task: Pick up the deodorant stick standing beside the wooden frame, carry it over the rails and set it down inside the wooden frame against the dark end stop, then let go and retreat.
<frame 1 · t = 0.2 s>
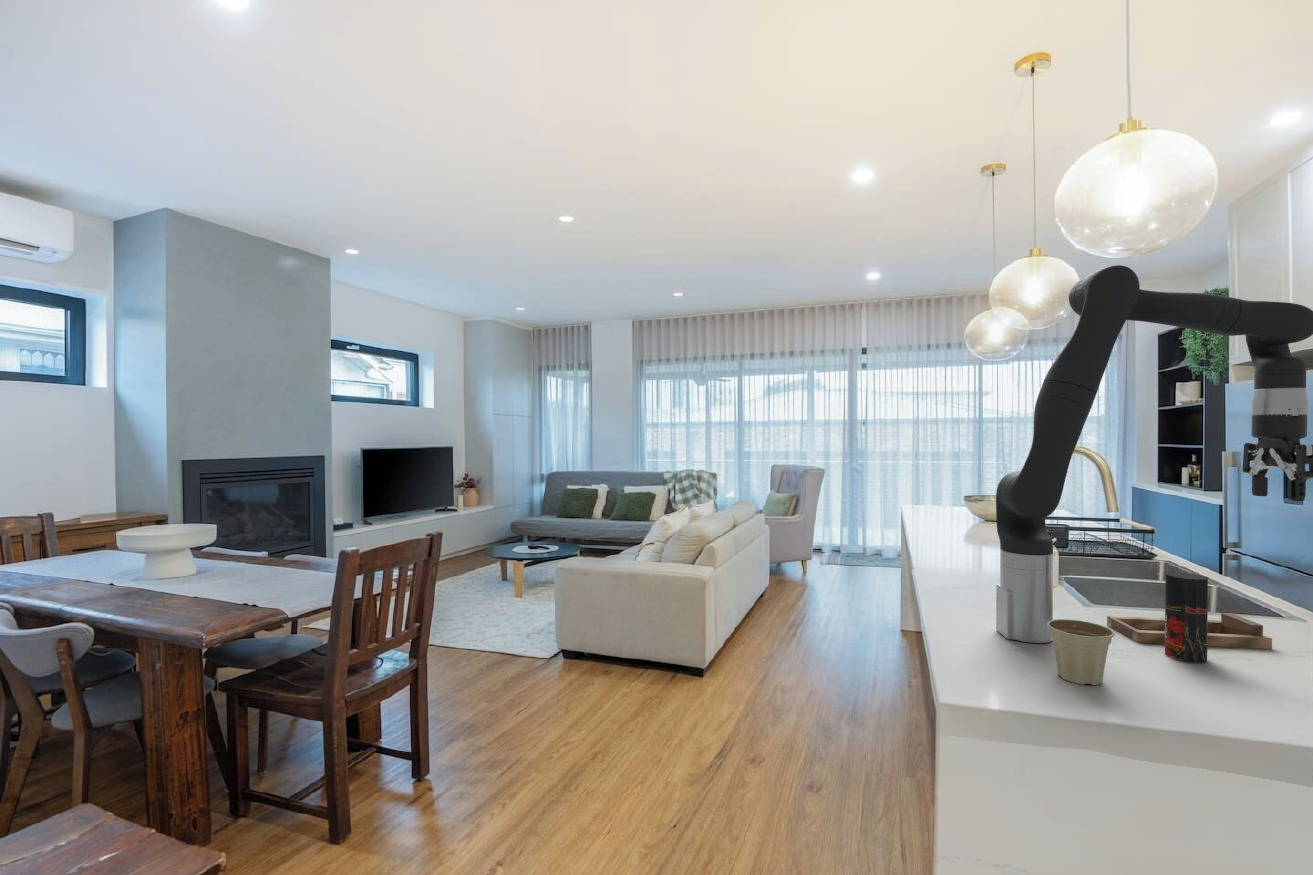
hand: (1277, 498, 120), 29 cm above the countertop, fingers open, 8 cm apart
wooden frame: (1184, 636, 127), on the countertop
flower pot: (1079, 679, 106), on the countertop
deodorant: (1185, 658, 115), on the countertop
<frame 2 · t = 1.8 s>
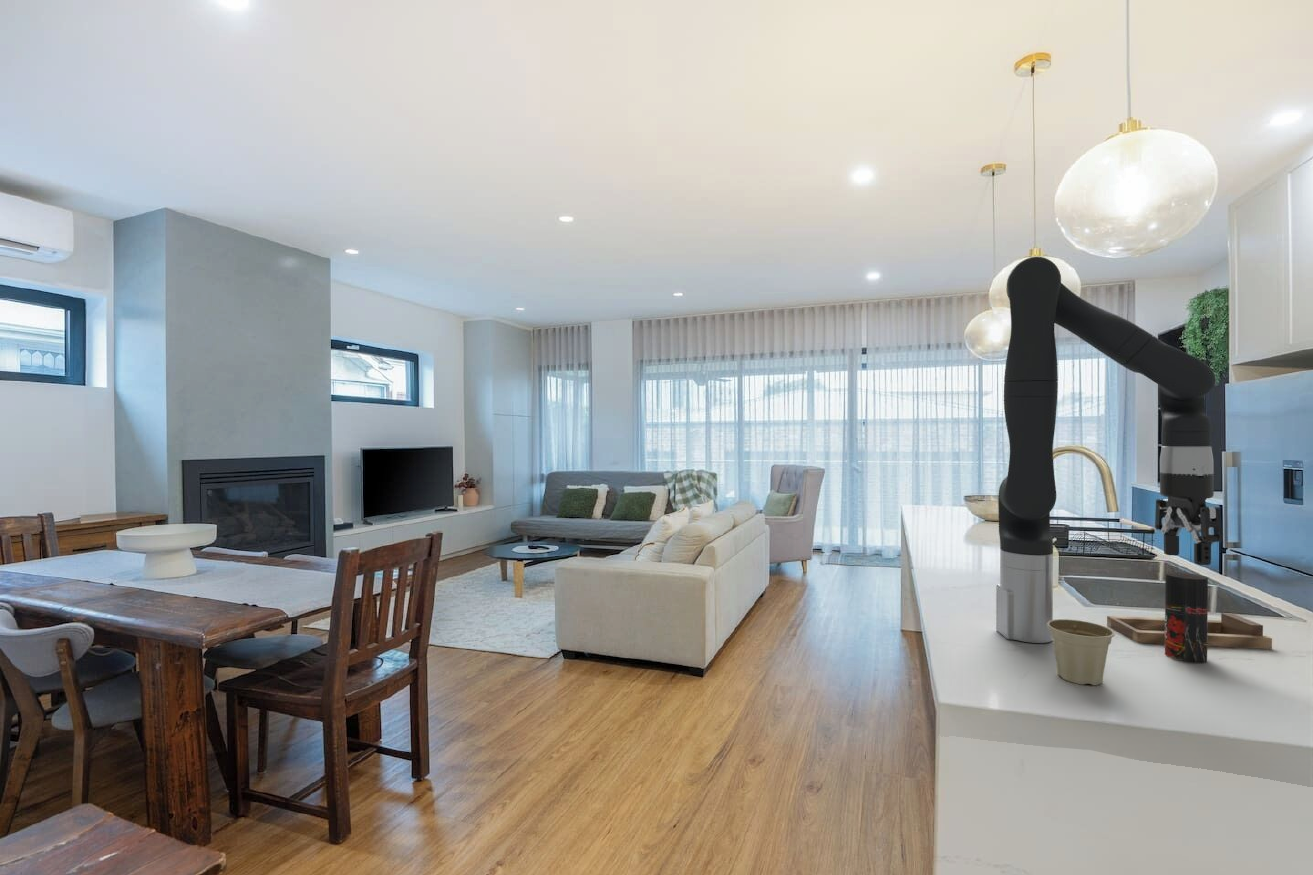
hand: (1186, 559, 115), 18 cm above the countertop, fingers open, 8 cm apart
nothing on the countertop moved.
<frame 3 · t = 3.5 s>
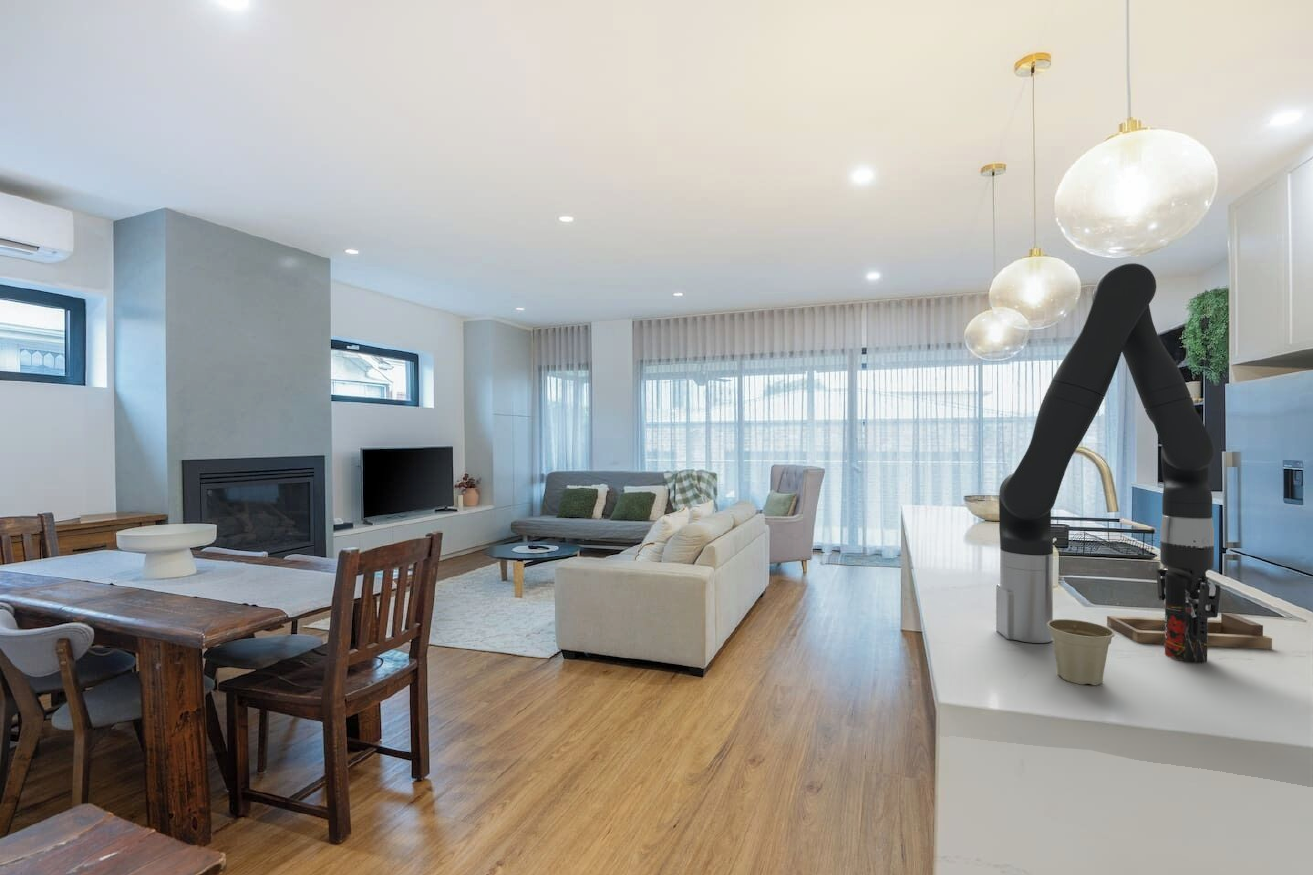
hand: (1186, 632, 115), 5 cm above the countertop, fingers closed on deodorant, 6 cm apart
deodorant: (1185, 658, 115), on the countertop, touching gripper
everything else where it was.
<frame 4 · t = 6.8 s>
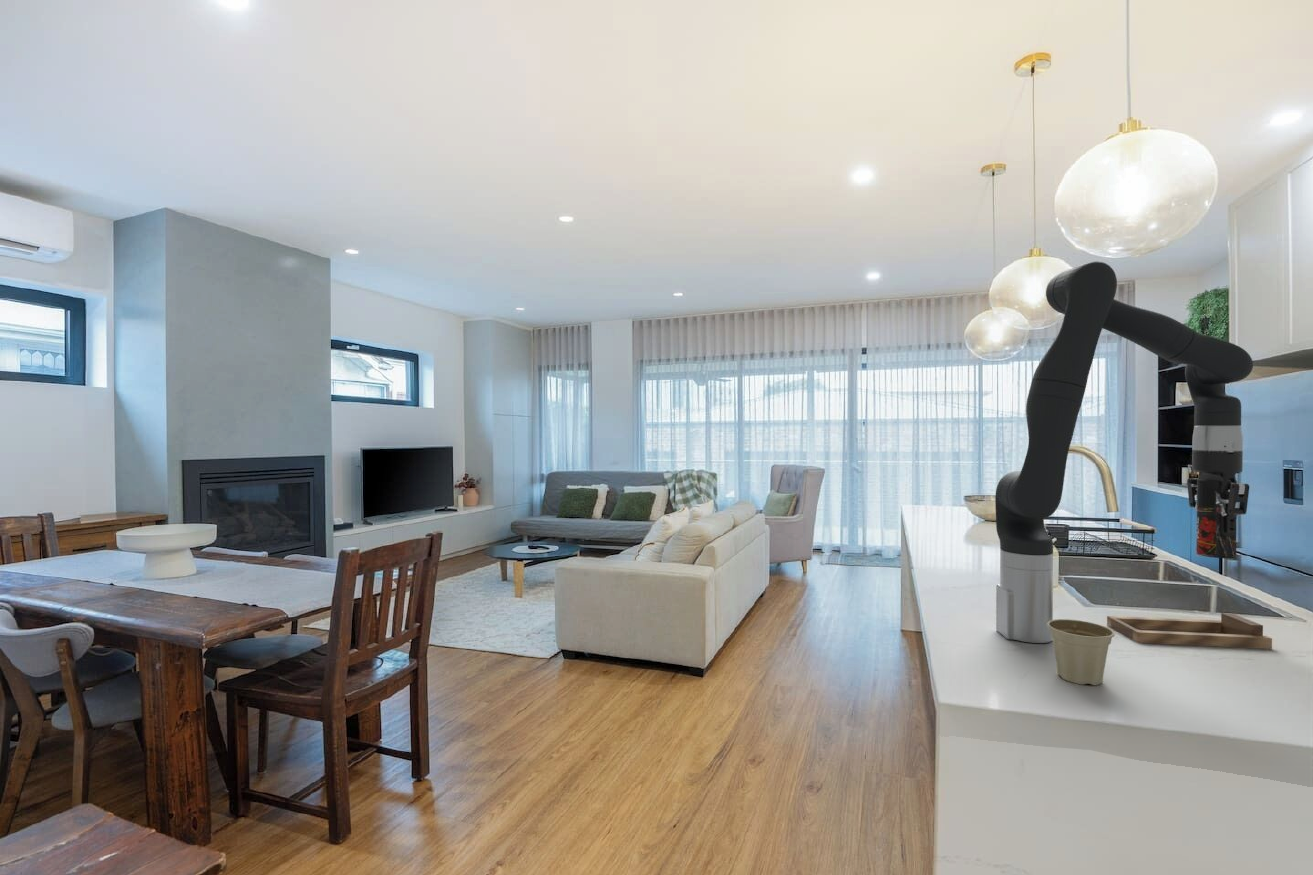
hand: (1216, 532, 126), 21 cm above the countertop, fingers closed on deodorant, 6 cm apart
deodorant: (1215, 556, 126), point 16 cm above the countertop, touching gripper
everything else where it was.
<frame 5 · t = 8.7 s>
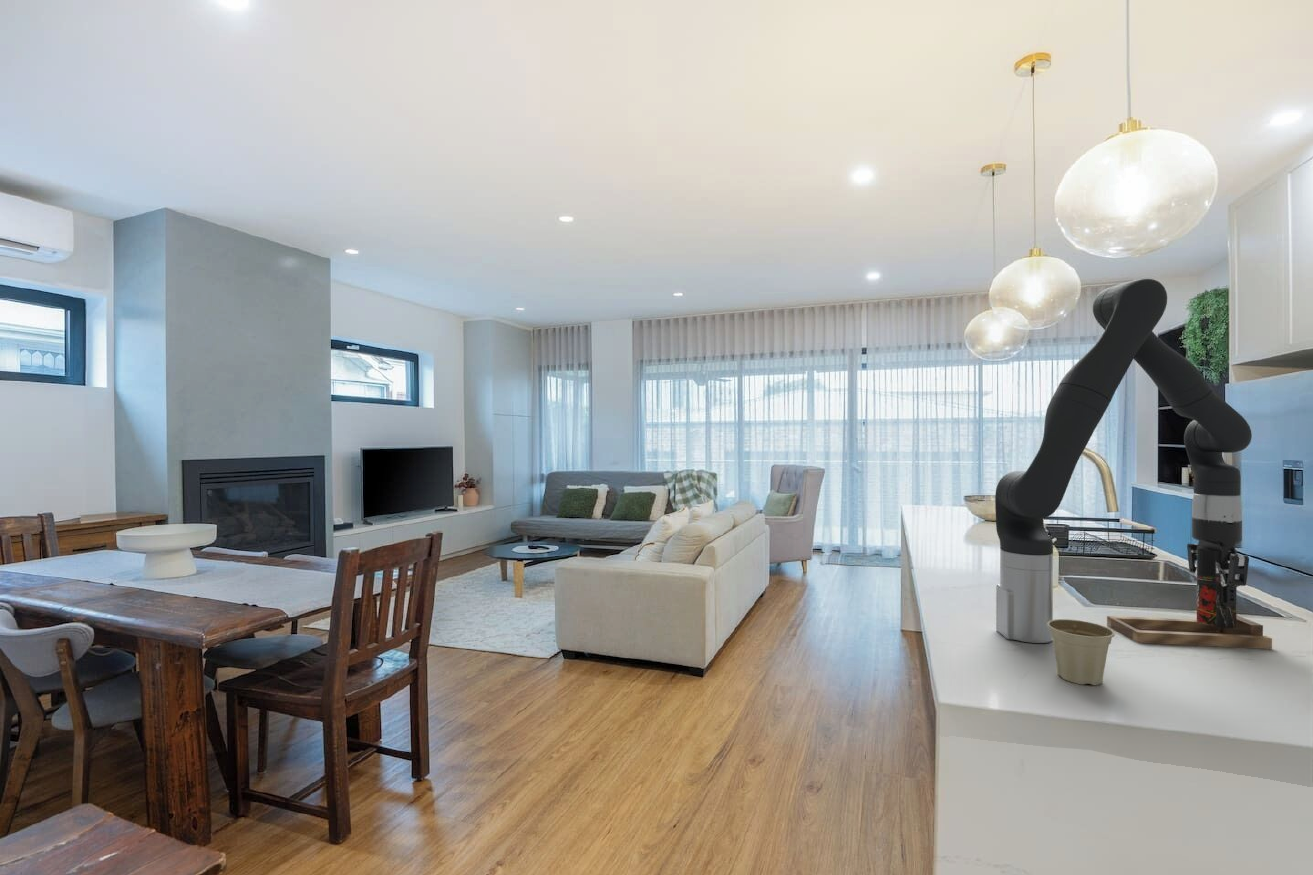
hand: (1216, 600, 126), 7 cm above the countertop, fingers closed on deodorant, 6 cm apart
deodorant: (1216, 624, 126), point 3 cm above the countertop, touching gripper
everything else where it was.
when the fingers open (6 cm above the countertop, at t = 10.2 s): deodorant drops 1 cm, resting in wooden frame.
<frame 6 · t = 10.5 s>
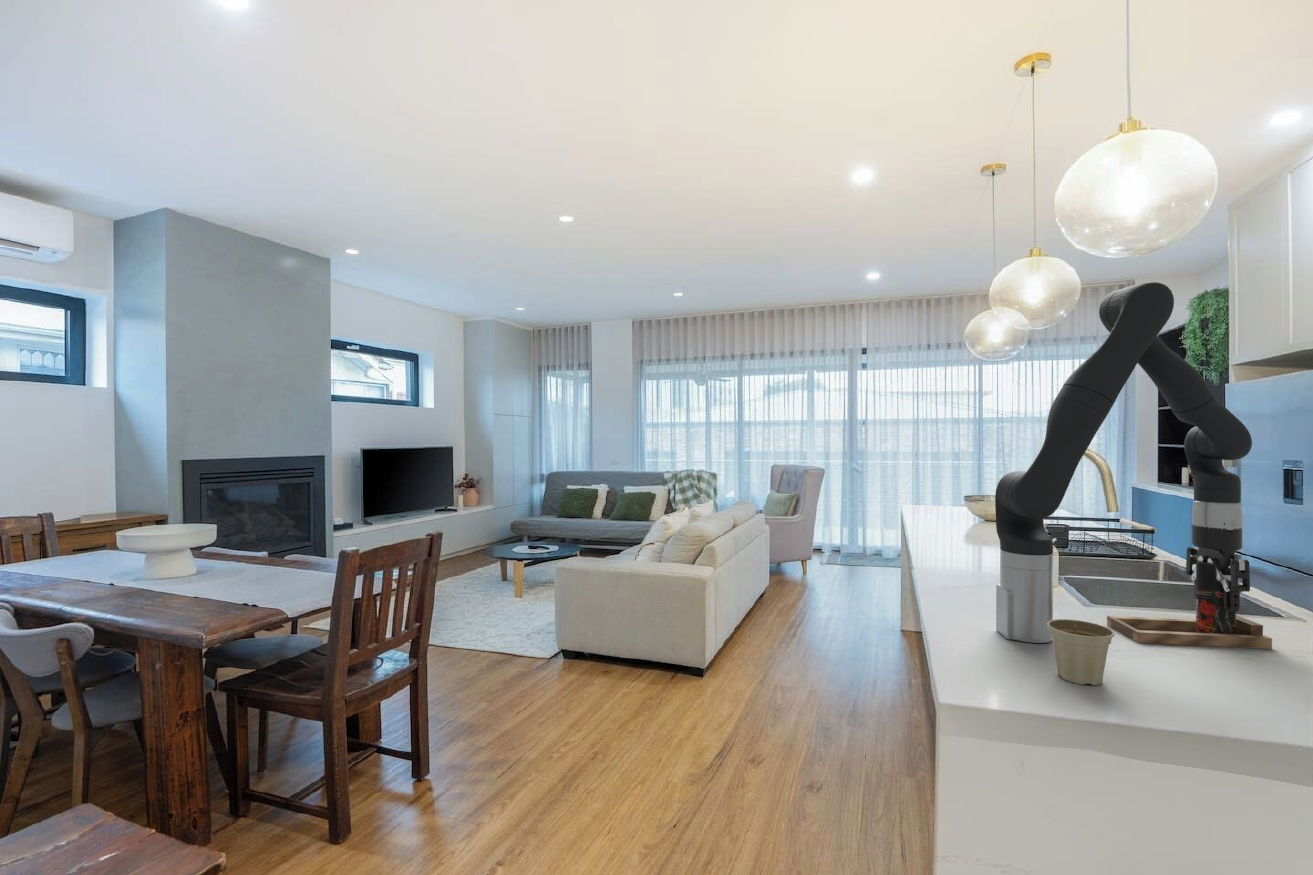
hand: (1215, 605, 126), 7 cm above the countertop, fingers open, 8 cm apart
deodorant: (1215, 638, 126), resting in wooden frame
everything else where it was.
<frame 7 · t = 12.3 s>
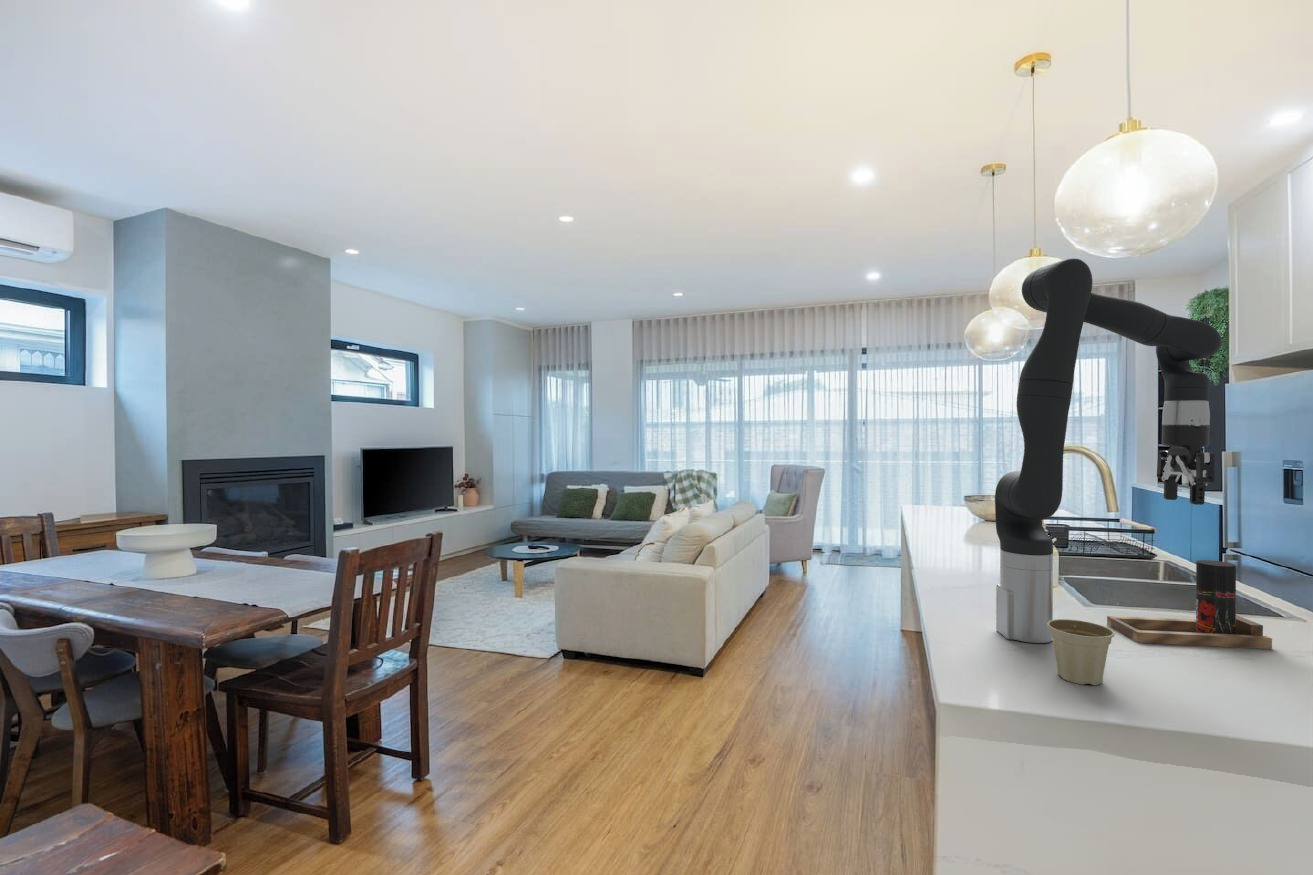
hand: (1183, 501, 130), 27 cm above the countertop, fingers open, 8 cm apart
nothing on the countertop moved.
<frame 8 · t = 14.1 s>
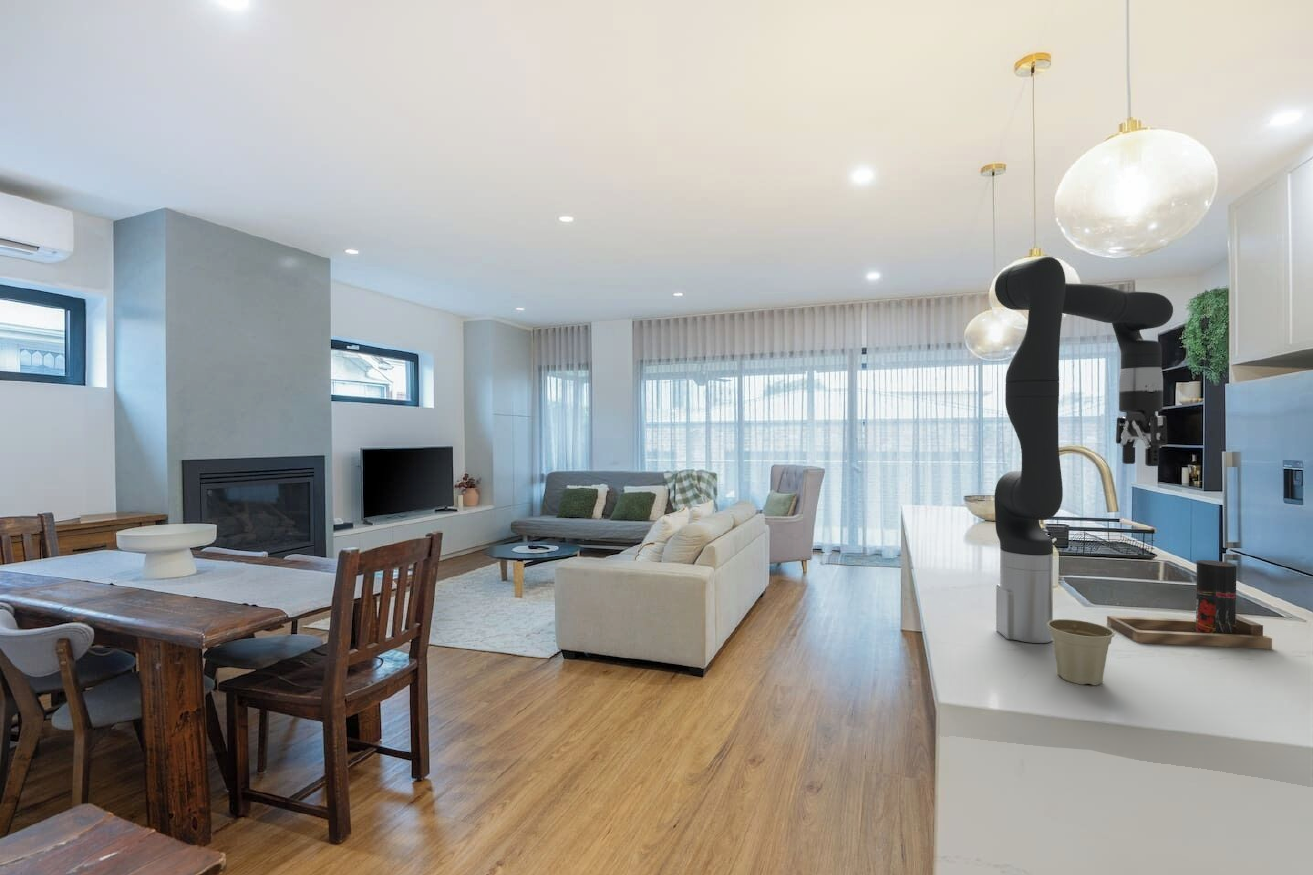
hand: (1140, 464, 136), 34 cm above the countertop, fingers open, 8 cm apart
nothing on the countertop moved.
at the end: deodorant 0.3 cm from the target spot on the wooden frame, point 0.0 cm above the wooden frame's base; deodorant tilted 0°; the gripper is holding nothing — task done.
